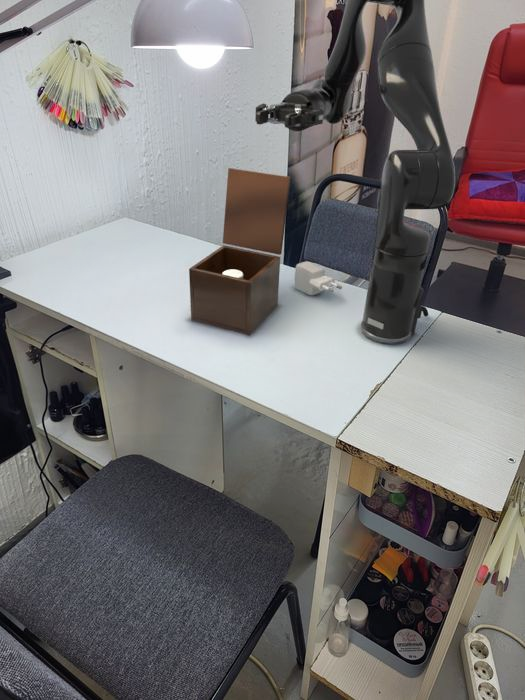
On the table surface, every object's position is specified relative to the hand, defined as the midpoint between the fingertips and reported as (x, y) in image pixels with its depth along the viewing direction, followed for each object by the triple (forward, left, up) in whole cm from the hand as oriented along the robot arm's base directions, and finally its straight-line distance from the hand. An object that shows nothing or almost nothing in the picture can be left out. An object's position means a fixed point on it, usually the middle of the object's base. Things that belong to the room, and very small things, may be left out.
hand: (272, 120), depth 98 cm
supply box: (+11, +10, -34) cm, 37 cm away
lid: (+6, +5, -16) cm, 17 cm away
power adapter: (-8, +9, -34) cm, 36 cm away
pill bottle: (+13, +11, -33) cm, 37 cm away
